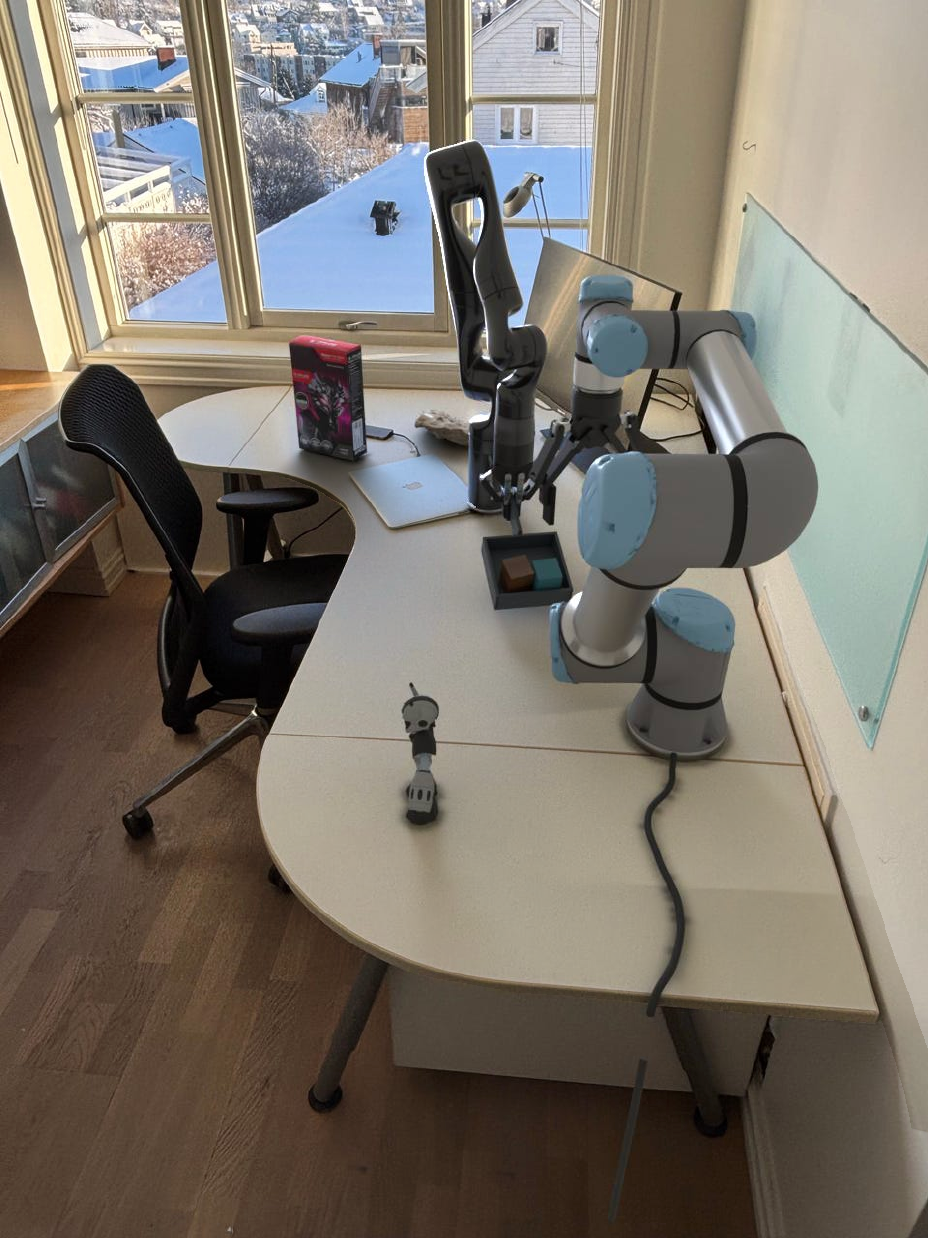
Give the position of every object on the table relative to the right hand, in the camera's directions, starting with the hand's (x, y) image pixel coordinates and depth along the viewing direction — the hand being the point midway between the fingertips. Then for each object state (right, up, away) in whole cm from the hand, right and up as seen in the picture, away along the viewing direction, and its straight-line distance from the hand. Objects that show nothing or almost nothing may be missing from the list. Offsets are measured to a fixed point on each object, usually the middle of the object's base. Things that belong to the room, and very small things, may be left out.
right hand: (586, 515), depth 148 cm
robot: (-26, -43, -19) cm, 53 cm away
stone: (-23, +30, +89) cm, 97 cm away
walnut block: (-10, -11, +21) cm, 26 cm away
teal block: (-5, -11, +21) cm, 25 cm away
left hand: (-11, +3, +32) cm, 33 cm away
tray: (-9, -5, +27) cm, 28 cm away
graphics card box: (-52, +25, +82) cm, 101 cm away
